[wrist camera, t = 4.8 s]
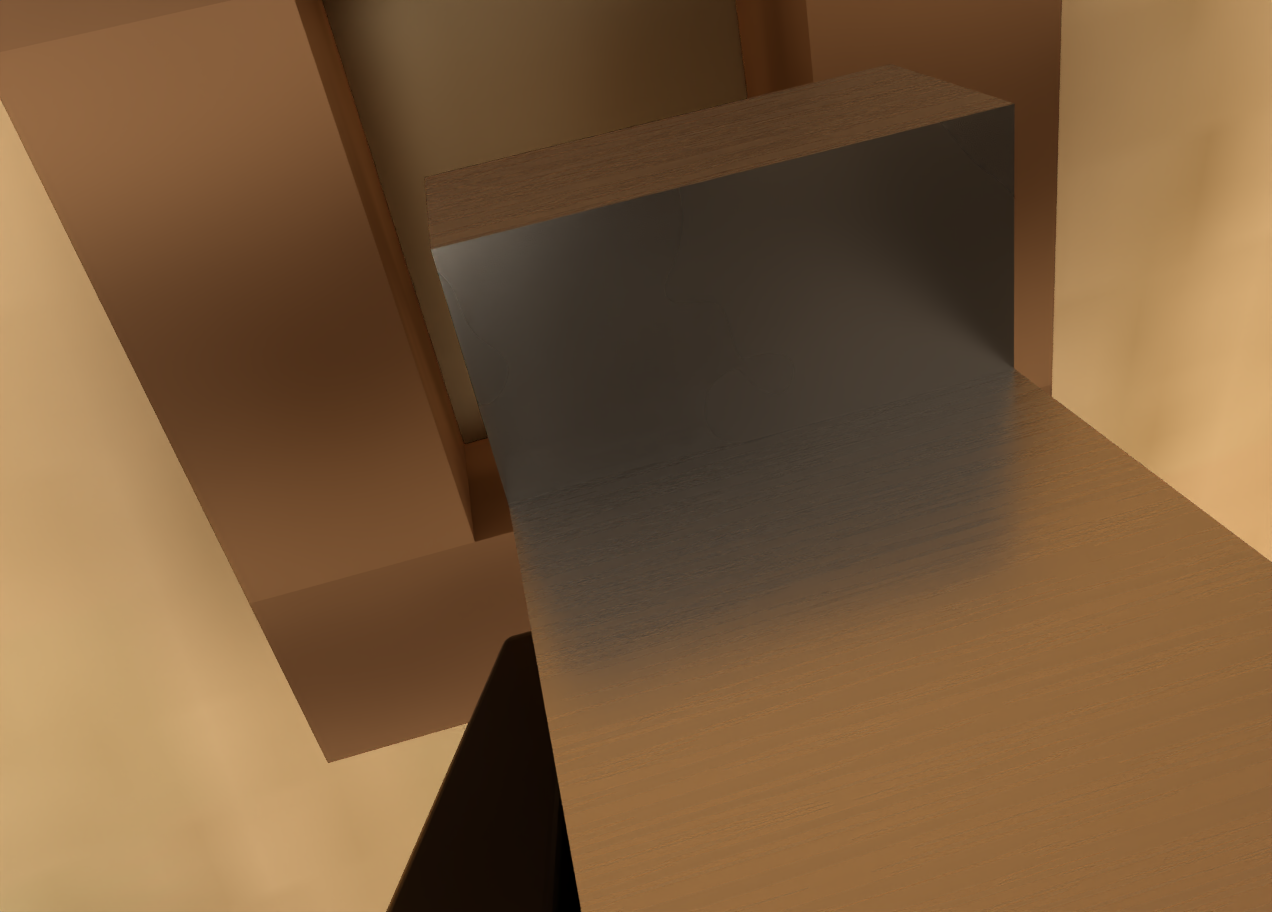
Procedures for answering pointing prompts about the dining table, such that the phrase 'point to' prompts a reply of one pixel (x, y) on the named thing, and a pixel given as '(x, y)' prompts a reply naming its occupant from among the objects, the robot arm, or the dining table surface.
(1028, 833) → the bracket
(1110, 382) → the dining table surface
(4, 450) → the dining table surface
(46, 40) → the well block
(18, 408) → the dining table surface
